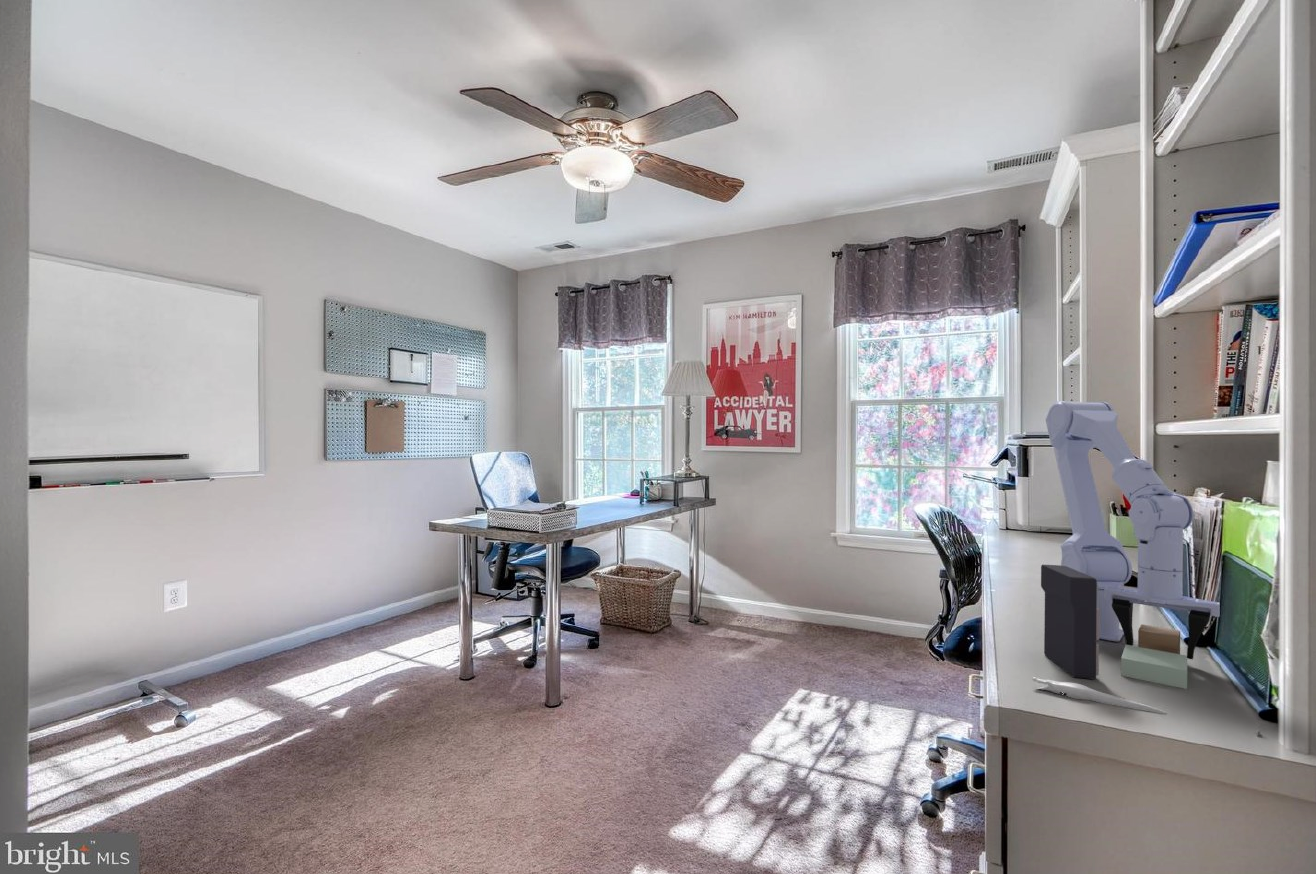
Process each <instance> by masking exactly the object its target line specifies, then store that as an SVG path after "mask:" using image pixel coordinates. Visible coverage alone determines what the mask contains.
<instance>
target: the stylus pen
mask: <svg viewBox="0 0 1316 874" xmlns="http://www.w3.org/2000/svg"><path fill="white" fill-rule="evenodd" d="M1031 679H1032V681H1033V682H1035V683H1038V684H1043V685H1042V686H1039V687H1040V688H1037V689H1036V690H1038V689H1041V691H1043V690H1045V691H1049V692H1051V693H1053V694H1057V695H1060V694H1063V693H1064V694H1065V697H1066V696H1068V697H1067V698H1070V697H1071V699H1075V698H1076V699H1075V700H1080V699H1082V701H1090V700H1092V701H1091V702H1095V701H1096V703H1099V702H1100V704H1105V705H1110V706H1115V705H1116V707H1121V706H1122V707H1123V708H1128V709H1134V710H1139V711H1146V712H1152V713H1158V714H1161V715H1162V714H1164V715H1166V714H1168V712H1166V711H1165V710H1162V709H1160V708H1156V707H1153V706H1150V705H1148V704H1144V703H1140V702H1138V701H1134V700H1130V699H1126V698H1122V697H1121V696H1116V695H1113V694H1109V693H1105V692H1103V691H1102V692H1101V691H1099V690H1096V689H1093V688H1091V687H1090V686H1087V685H1083V684H1080V683H1077V682H1069V681H1067V682H1066V681H1057V680H1051V679H1041V678H1037V677H1036V676H1033V677H1032V678H1031ZM1062 692H1063V693H1062Z"/></svg>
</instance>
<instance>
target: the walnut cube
mask: <svg viewBox="0 0 1316 874" xmlns="http://www.w3.org/2000/svg"><path fill="white" fill-rule="evenodd" d="M1137 636H1138V637H1137V638H1138V639H1137V641H1138V642H1137V647H1142V648H1147V649H1153V650H1158V651H1164V652H1169V653H1175V654H1181V630H1178V629H1173V628H1172V629H1171V628H1165V627H1159V626H1155V625H1149V624H1140V627H1139V628H1138V632H1137Z"/></svg>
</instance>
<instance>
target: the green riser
mask: <svg viewBox="0 0 1316 874" xmlns="http://www.w3.org/2000/svg"><path fill="white" fill-rule="evenodd" d="M1120 658H1121V659H1120V660H1121V661H1120V676H1121V677H1122V676H1123V677H1127V678H1133V679H1136V680H1143V681H1146V682H1151V683H1156V684H1161V685H1165V686H1171V687H1175V688H1181V689H1184V690H1188V658H1187V654H1181V653H1180V654H1175V653H1169V652H1164V651H1158V650H1153V649H1147V648H1142V647H1138V646H1135V645H1133V646H1131V645H1126V644H1125V646H1124V649H1123V652H1122V655H1121V657H1120Z"/></svg>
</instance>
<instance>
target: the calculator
mask: <svg viewBox="0 0 1316 874" xmlns="http://www.w3.org/2000/svg"><path fill="white" fill-rule="evenodd" d="M1040 586H1041V588H1042V590H1043V592H1044V635H1043V636H1044V639H1043V641H1044V642H1043V643H1044V645H1043V646H1044V647H1043V650H1044V651H1043V652H1044V656H1046V657H1047V658H1048V659H1050V661H1052V662H1053V663H1055V664H1056V665H1057V666H1059V667H1060V668H1061V669H1062V670H1064V672H1066V673H1067V674H1069V675H1070V676H1071V677H1073V678H1075V679H1085V680H1086V679H1089V680H1095V679H1096V678H1097V676H1099V674H1100V673H1099V671H1100V668H1099V667H1100V657H1099V655H1100V645H1099V644H1098V642H1097V641H1099V640H1100V639H1099V609H1098V608H1097V605H1098V582H1097V580H1096V579H1095V578H1093V577H1091V576H1089V575H1086V574H1084V573H1081V572H1079V571H1076V570H1074V569H1072V568H1069V567H1067V566H1061V564H1060V565H1059V564H1057V565H1056V564H1042V565H1040Z"/></svg>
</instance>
